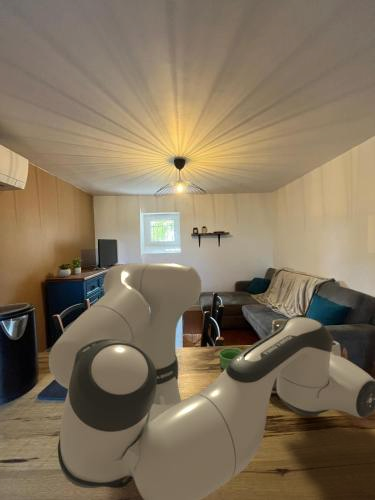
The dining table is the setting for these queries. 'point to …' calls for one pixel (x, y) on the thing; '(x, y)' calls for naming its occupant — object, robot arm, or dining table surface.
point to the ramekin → (227, 356)
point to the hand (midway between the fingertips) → (278, 338)
